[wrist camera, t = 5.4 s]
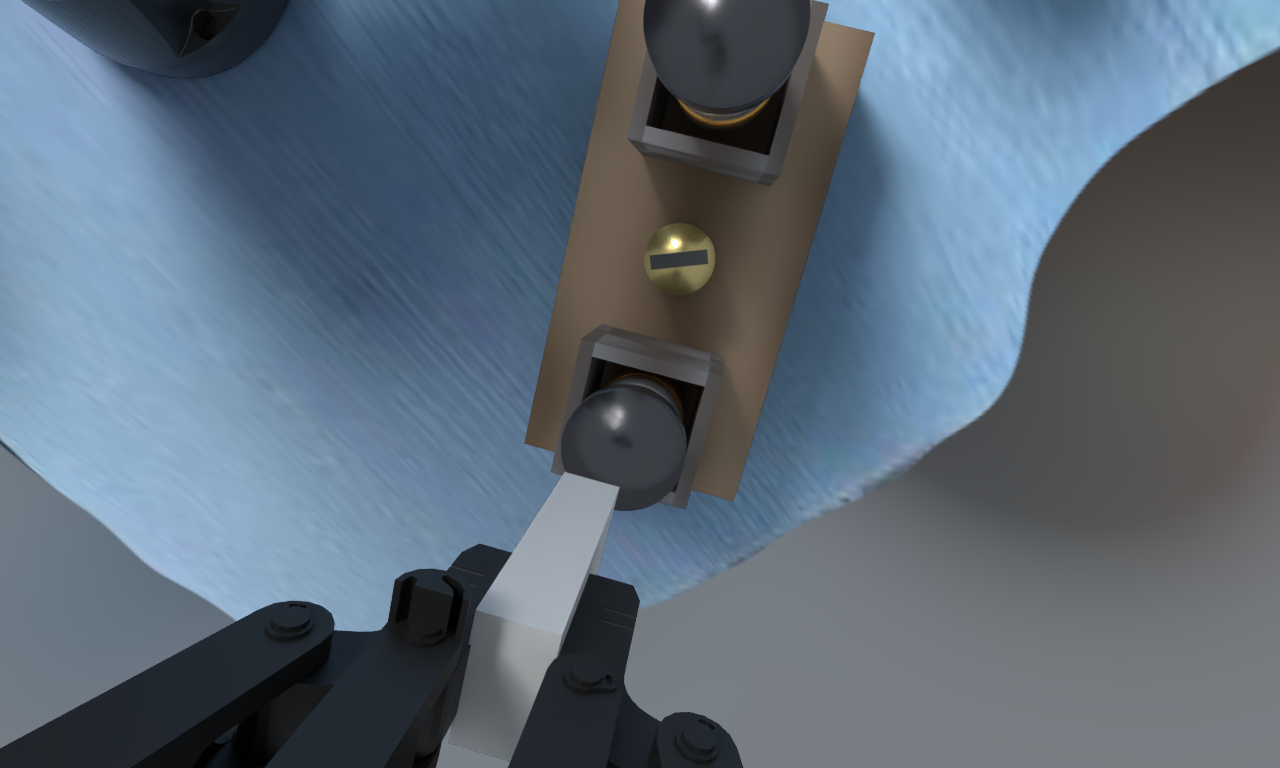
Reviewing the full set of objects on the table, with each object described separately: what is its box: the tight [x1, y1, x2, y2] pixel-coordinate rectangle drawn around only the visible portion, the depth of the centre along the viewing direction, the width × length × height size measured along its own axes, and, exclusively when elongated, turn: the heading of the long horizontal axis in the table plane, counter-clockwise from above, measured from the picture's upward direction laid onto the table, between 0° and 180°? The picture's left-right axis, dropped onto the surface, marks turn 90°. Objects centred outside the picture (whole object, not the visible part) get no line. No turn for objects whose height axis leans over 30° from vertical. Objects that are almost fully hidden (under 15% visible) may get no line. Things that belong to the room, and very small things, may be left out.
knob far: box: [561, 367, 687, 511], centre depth 28 cm, size 5×5×8 cm
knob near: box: [643, 0, 811, 134], centre depth 22 cm, size 5×5×8 cm
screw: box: [644, 223, 715, 295], centre depth 29 cm, size 3×3×3 cm
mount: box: [525, 0, 875, 509], centre depth 31 cm, size 11×22×11 cm, turn 166°
